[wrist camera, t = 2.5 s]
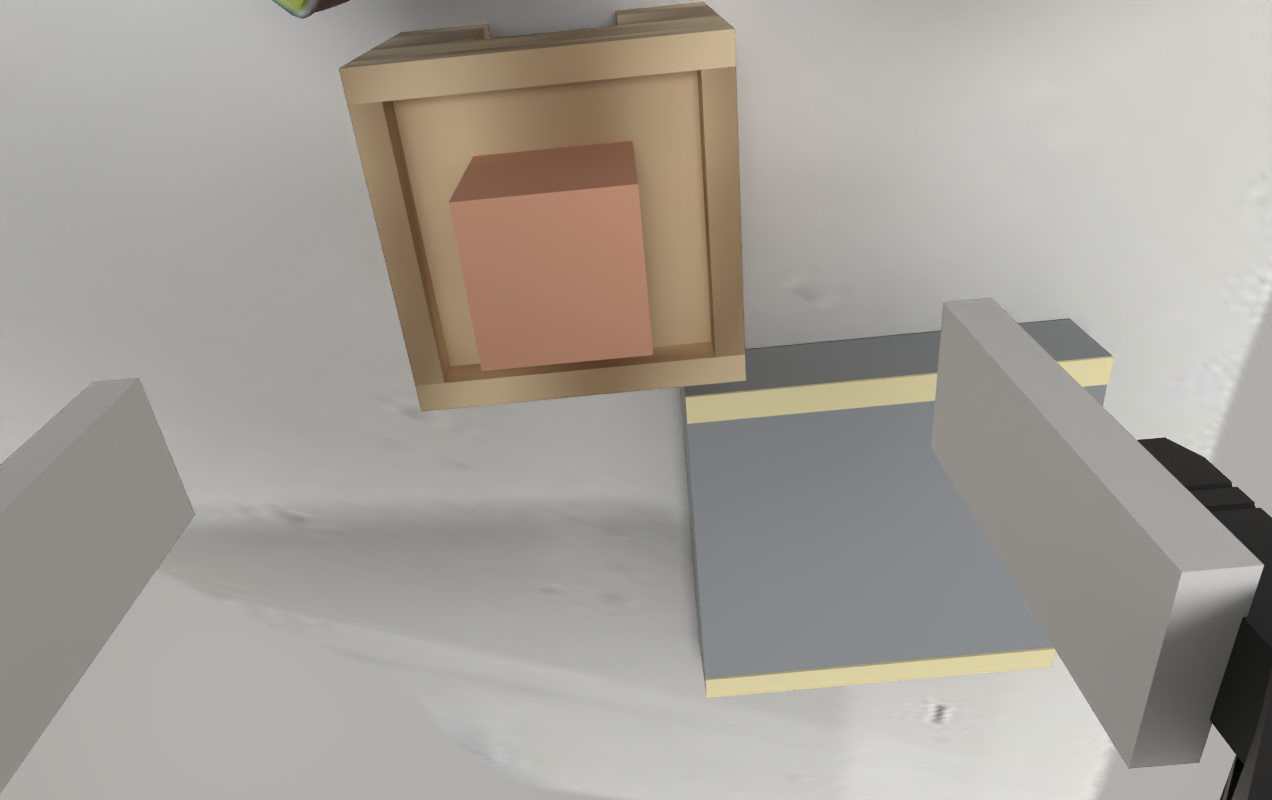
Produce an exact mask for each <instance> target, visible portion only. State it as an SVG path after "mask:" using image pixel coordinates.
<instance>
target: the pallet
mask: <svg viewBox="0 0 1272 800" xmlns="http://www.w3.org/2000/svg"><path fill="white" fill-rule="evenodd" d="M616 19H617V26H610V27H600V28H590V29H580V30H570V31H560V32H550V33H540V34H530V35H520V36H510V37H500V38H490V33H489V27H488V24H481V25H471V26H461V27H451V28H441V29H431V30H421V31H411V32H402V33H399V34H398V35H396V36H394V37H392V38H391V39H389V40H387V41H385V42H384V43H382V44H380V45H379V46H377V47H375V48H373V49H372V50H370V51H368V52H366V53H365V54H363V55H361V56H360V57H358V58H356V59H354V60H353V61H351V62H349V63H348V64H346V65H344V66H342V67H341V68H339V72H340V76H341V80H342V84H343V88H344V92H345V97H346V101H347V105H348V109H349V113H350V117H351V121H352V125H353V130H354V134H355V138H356V142H357V146H358V150H359V154H360V159H361V163H362V167H363V171H364V175H365V179H366V183H367V187H368V192H369V196H370V200H371V204H372V208H373V212H374V216H375V221H376V225H377V229H378V233H379V237H380V241H381V245H382V249H383V254H384V258H385V262H386V266H387V270H388V274H389V278H390V283H391V287H392V291H393V295H394V299H395V303H396V307H397V311H398V316H399V320H400V324H401V328H402V332H403V336H404V340H405V345H406V349H407V353H408V357H409V361H410V365H411V369H412V373H413V378H414V382H415V386H416V390H417V394H418V398H419V402H420V407H421V411H430V410H440V409H451V408H461V407H472V406H482V405H493V404H503V403H514V402H525V401H535V400H546V399H556V398H567V397H577V396H588V395H598V394H609V393H620V392H630V391H641V390H651V389H662V388H672V387H683V386H694V385H704V384H715V383H725V382H736V381H746V370H745V339H744V307H743V276H742V244H741V212H740V181H739V149H738V117H737V86H736V54H735V29H734V28H733V27H732V26H731V25H730V24H729V23H727V22H726V21H725V20H724V19H723V18H722V17H720V16H719V15H718V14H717V13H716V12H715V11H713V10H712V9H711V8H710V7H709V6H708V5H706V4H705V3H704V2H699V3H689V4H679V5H669V6H659V7H649V8H639V9H629V10H619V11H616ZM624 141H633V149H634V157H635V164H636V172H637V179H638V188H639V200H640V211H641V222H642V234H643V245H644V257H645V268H646V279H647V291H648V302H649V313H650V325H651V336H652V348H653V355H647V356H636V357H626V358H615V359H604V360H594V361H583V362H573V363H562V364H551V365H541V366H530V367H520V368H509V369H498V370H488V371H482V370H481V365H480V360H479V355H478V350H477V345H476V340H475V335H474V330H473V325H472V319H471V314H470V309H469V304H468V299H467V294H466V289H465V284H464V279H463V274H462V269H461V264H460V259H459V254H458V248H457V243H456V238H455V233H454V228H453V223H452V218H451V213H450V208H449V203H448V202H449V201H450V199H451V197H452V195H453V193H454V191H455V189H456V187H457V186H458V184H459V182H460V180H461V178H462V176H463V174H464V172H465V170H466V169H467V167H468V165H469V163H470V161H471V159H472V157H473V156H481V155H491V154H501V153H511V152H522V151H532V150H542V149H552V148H562V147H573V146H583V145H593V144H603V143H614V142H624Z"/></svg>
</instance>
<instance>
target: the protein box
mask: <svg viewBox="0 0 1272 800" xmlns="http://www.w3.org/2000/svg"><path fill="white" fill-rule="evenodd" d="M273 1H274V2H275V3H277V4H278V5H279V6H281V7H282V8H283V9H285V10H286V11H287V12H289V13H290V14H291V15H293V16H296V17H299V18H306V17H309V16H310V15H312V14H313V13H315V12H319V11H322V10H325V9H328V8H331V7H334V6H337V5H340V4H342V3H345V2H347V1H349V0H273Z"/></svg>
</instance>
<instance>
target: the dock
mask: <svg viewBox="0 0 1272 800" xmlns="http://www.w3.org/2000/svg"><path fill="white" fill-rule="evenodd" d="M1019 325H1020V326H1021V327H1022V328H1023V329H1024V330H1025V331H1026V332H1027V333H1028V334H1029V335H1030V336H1031V337H1032V338H1033V339H1034V340H1035V341H1036V342H1037V343H1038V344H1039V345H1040V346H1041V347H1042V348H1043V349H1044V350H1045V351H1046V352H1047V353H1048V354H1049V355H1050V356H1051V357H1052V358H1053V359H1054V360H1055V361H1056V362H1057V363H1058V364H1059V365H1061V366H1062V367H1063V368H1064V369H1065V370H1066V371H1067V372H1068V373H1069V374H1070V375H1071V376H1072V377H1073V378H1074V379H1075V380H1076V381H1077V382H1078V383H1079V384H1080V385H1081V386H1082V387H1083V388H1084V389H1085V390H1086V391H1087V392H1088V393H1089V394H1090V395H1091V396H1092V397H1093V398H1094V399H1095V400H1096V401H1097V402H1098V403H1099V404H1100V405H1101V406H1102V407H1103V402H1104V397H1105V391H1106V386H1107V384H1109V380H1110V375H1111V370H1112V365H1113V360H1114V357H1113V356H1112V355H1111V354H1110V353H1109V352H1107V351H1106V350H1105V349H1104V348H1103V347H1102V346H1100V345H1099V344H1098V343H1097V342H1096V341H1095V340H1094V339H1092V338H1091V337H1090V336H1089V335H1088V334H1087V333H1085V332H1084V331H1083V330H1082V329H1081V328H1080V327H1078V326H1077V325H1076V324H1075V323H1074V322H1073V321H1072V320H1070V319H1062V320H1052V321H1041V322H1031V323H1020V324H1019ZM940 337H941V331H936V332H926V333H915V334H905V335H894V336H884V337H873V338H863V339H852V340H842V341H831V342H821V343H810V344H800V345H789V346H779V347H768V348H758V349H747V350H745V370H746V381H736V382H725V383H715V384H704V385H694V386H683V387H681V398H682V412H683V425H684V439H685V453H686V466H687V480H688V494H689V507H690V521H691V535H692V548H693V562H694V576H695V589H696V603H697V616H698V630H699V643H700V651H701V658H702V666H703V673H704V681H705V688H706V696H707V698H712V697H723V696H734V695H746V694H757V693H768V692H779V691H790V690H801V689H812V688H824V687H835V686H846V685H857V684H868V683H879V682H891V681H902V680H913V679H924V678H935V677H946V676H958V675H969V674H980V673H991V672H1002V671H1013V670H1025V669H1036V668H1047V667H1053V662H1054V657H1055V652H1056V650H1055V648H1054V647H1053V645H1052V643H1051V642H1050V640H1049V638H1048V637H1047V635H1046V634H1045V632H1044V630H1043V629H1042V627H1041V625H1040V624H1039V622H1038V621H1037V619H1036V617H1035V616H1034V614H1033V612H1032V611H1031V609H1030V608H1029V606H1028V604H1027V603H1026V601H1025V599H1024V598H1023V596H1022V595H1021V593H1020V591H1019V590H1018V588H1017V586H1016V585H1015V583H1014V582H1013V580H1012V578H1011V577H1010V575H1009V573H1008V572H1007V570H1006V569H1005V567H1004V565H1003V564H1002V562H1001V560H1000V559H999V557H998V556H997V554H996V552H995V551H994V549H993V547H992V546H991V544H990V543H989V541H988V539H987V538H986V536H985V534H984V533H983V531H982V530H981V528H980V526H979V525H978V523H977V521H976V520H975V518H974V517H973V515H972V513H971V512H970V510H969V508H968V507H967V505H966V504H965V502H964V500H963V499H962V497H961V495H960V494H959V492H958V490H957V489H956V487H955V486H954V484H953V482H952V481H951V479H950V477H949V476H948V474H947V473H946V471H945V469H944V468H943V466H942V464H941V463H940V461H939V460H938V458H937V456H936V455H935V453H934V451H933V450H932V448H931V442H932V430H933V418H934V407H935V395H936V384H937V372H938V361H939V349H940Z"/></svg>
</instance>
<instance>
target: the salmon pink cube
mask: <svg viewBox="0 0 1272 800" xmlns="http://www.w3.org/2000/svg"><path fill="white" fill-rule="evenodd" d="M448 203H449V208H450V213H451V218H452V223H453V228H454V233H455V238H456V243H457V248H458V254H459V259H460V264H461V269H462V274H463V279H464V284H465V289H466V294H467V299H468V304H469V309H470V314H471V319H472V325H473V330H474V335H475V340H476V345H477V350H478V355H479V360H480V365H481V370H482V371H488V370H498V369H509V368H520V367H530V366H541V365H551V364H562V363H573V362H583V361H594V360H604V359H615V358H626V357H636V356H647V355H653V348H652V336H651V325H650V313H649V302H648V291H647V279H646V268H645V257H644V245H643V234H642V222H641V211H640V200H639V188H638V179H637V172H636V164H635V157H634V149H633V141H624V142H614V143H603V144H593V145H583V146H573V147H562V148H552V149H542V150H532V151H522V152H511V153H501V154H491V155H481V156H473V157H472V159H471V161H470V163H469V165H468V167H467V169H466V170H465V172H464V174H463V176H462V178H461V180H460V182H459V184H458V186H457V187H456V189H455V191H454V193H453V195H452V197H451V199H450V201H449V202H448Z"/></svg>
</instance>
